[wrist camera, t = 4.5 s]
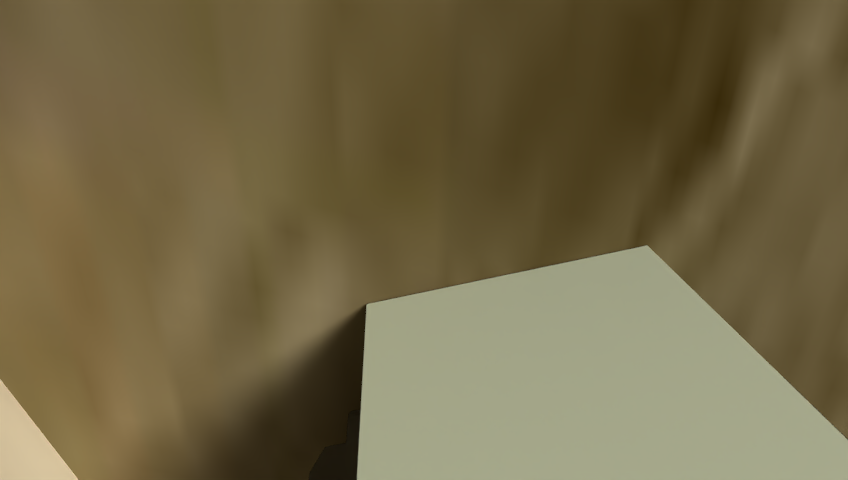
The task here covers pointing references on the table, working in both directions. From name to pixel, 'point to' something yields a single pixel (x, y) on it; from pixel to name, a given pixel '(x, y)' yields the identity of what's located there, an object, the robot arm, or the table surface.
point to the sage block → (579, 384)
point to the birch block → (26, 446)
